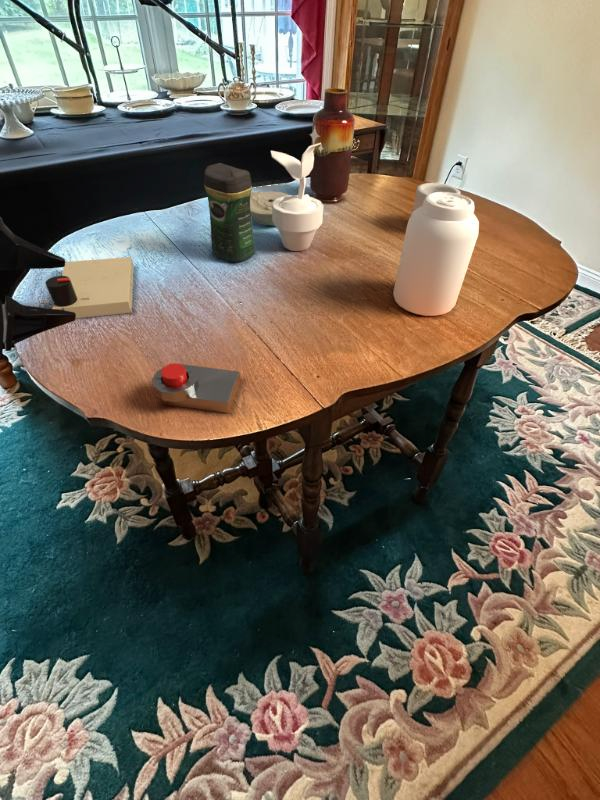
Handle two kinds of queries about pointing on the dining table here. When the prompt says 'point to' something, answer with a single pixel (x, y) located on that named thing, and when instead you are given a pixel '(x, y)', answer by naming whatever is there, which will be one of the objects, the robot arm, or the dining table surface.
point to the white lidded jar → (436, 254)
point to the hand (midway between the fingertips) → (70, 288)
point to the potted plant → (297, 203)
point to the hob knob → (61, 291)
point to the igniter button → (174, 375)
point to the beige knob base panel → (100, 286)
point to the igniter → (201, 389)
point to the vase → (332, 147)
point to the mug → (431, 188)
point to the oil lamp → (263, 206)
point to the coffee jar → (230, 212)
